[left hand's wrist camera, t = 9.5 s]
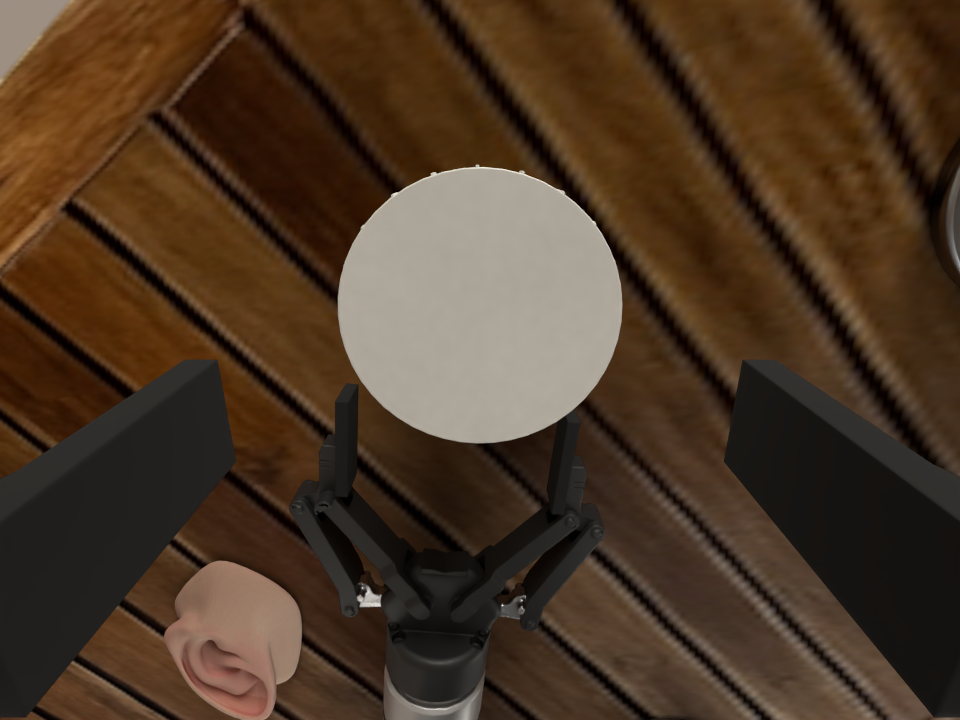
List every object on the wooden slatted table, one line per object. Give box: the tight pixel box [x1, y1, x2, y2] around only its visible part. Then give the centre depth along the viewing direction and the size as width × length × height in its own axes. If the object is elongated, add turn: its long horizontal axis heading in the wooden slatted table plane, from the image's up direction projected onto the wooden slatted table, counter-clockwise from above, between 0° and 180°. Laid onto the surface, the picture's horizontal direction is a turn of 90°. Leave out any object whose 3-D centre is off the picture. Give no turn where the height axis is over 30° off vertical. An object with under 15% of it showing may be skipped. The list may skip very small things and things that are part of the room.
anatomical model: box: [164, 561, 302, 720], centre depth 45 cm, size 13×4×12 cm
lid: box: [338, 165, 622, 443], centre depth 21 cm, size 11×11×2 cm
